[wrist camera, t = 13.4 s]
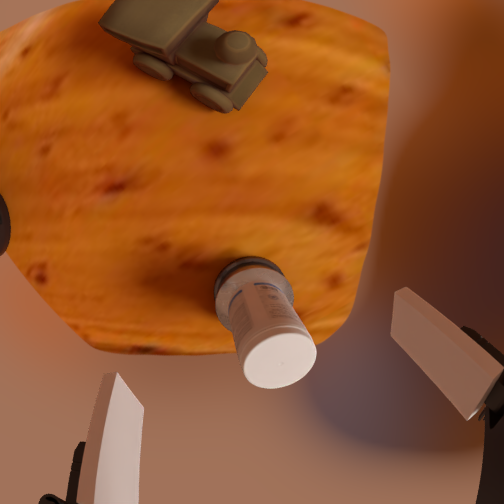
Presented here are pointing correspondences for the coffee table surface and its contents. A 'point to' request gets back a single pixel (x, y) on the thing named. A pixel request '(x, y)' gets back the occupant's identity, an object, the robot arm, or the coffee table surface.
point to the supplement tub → (269, 336)
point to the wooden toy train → (189, 48)
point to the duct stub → (242, 274)
